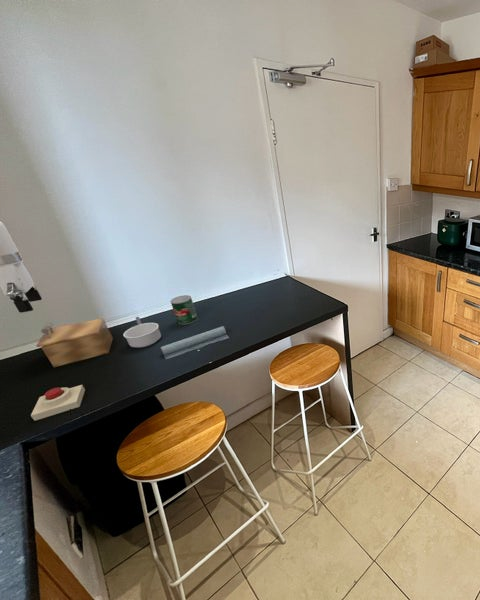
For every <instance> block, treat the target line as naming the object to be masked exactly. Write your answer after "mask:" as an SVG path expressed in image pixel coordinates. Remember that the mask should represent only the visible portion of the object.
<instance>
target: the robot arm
mask: <svg viewBox="0 0 480 600" xmlns="http://www.w3.org/2000/svg"><path fill="white" fill-rule="evenodd" d="M24 261H25V260H24V258H23V256H22V254H21V253H20V251H19V249H18V248H17V245H16V244H15V242H14V240H13V239H12V236H11V235H10V232H9V231H8V229H7V227H6V226H5V223H3V221H0V289H1V291H2V293H3V294H4V296H6V297H9V299H10V300H11V302H12V303H13V305H14V306H15V307H16V309H17V311H18V312H19V313H20V314H21V313H27V312H33V311H34V308H33V305H32V304H31V302H37V301H42V300H43V298H42V296H41V294H40V292H39V290H38V289H37V286H36V285H35V283H34V280H33V278H32V276H31V274H30V272H29V271H28V269H27V268H26V266H25V264H24V263H23V262H24Z"/></svg>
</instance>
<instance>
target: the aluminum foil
mask: <svg viewBox="0 0 480 600" xmlns="http://www.w3.org/2000/svg"><path fill="white" fill-rule="evenodd" d="M227 339H230V337H229V336H228V334H227V330H226V328H225V326H224V325H222V326H219V327H216V328H214V329H211V330H207V331H204V332H202V333H199V334H195V335H192V336H189V337H186V338H184V339H181V340H178V341H175V342H172V343H168V344H165V345H163V346H161V347H160V350H161V353H162V355H163V356H164V358H165V360H169V359H171V358H175V357H179V356H181V355H183V354H186V353H189V352H191V351H194V350H197V349H198V350H199V349H201V348H203V347H206V346H208V345H210V344H214V343H216V342H221V341H224V340H227Z"/></svg>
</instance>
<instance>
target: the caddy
mask: <svg viewBox="0 0 480 600" xmlns="http://www.w3.org/2000/svg"><path fill="white" fill-rule="evenodd" d="M113 340H114V338H113V335H112V333H111V331H110V329H109V327H108V325H107V323H106V321H105V320H104V321H103V323H102V326H101V329H100V332H99V334H96V335H92V336H87V337H82V338H78V339H73V340H69V341H64V342H59V343H55V344H50V345H45V346H41V349H42V351H43V353H44V354H45V356H46V357H47V358H48V360H49V363H51V366H52V367H53V368H56V367H60V366H64V365H69V364H72V363H76V362H80V361H84V360H87V359H91V358H95V357H98V356H102V355H107V354H109V353H110V350H111V346H112V343H113Z"/></svg>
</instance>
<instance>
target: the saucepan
mask: <svg viewBox="0 0 480 600" xmlns="http://www.w3.org/2000/svg"><path fill="white" fill-rule="evenodd" d="M135 320H136V324H137V325H133V326H132V327H130V328H128V329H127V330H125V331H124V333H123V337H124V338H125V339H126V342H127V343H128V345H129V346H130V347H131V348H145V347H149V346H151V345H153V344H155V343H157V342H158V341H159V340H160V339H161V337H162V334H161V331H160V328H159V323H156V322H145V323H142V321H141V319H140V317H139V316H136V317H135Z"/></svg>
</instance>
